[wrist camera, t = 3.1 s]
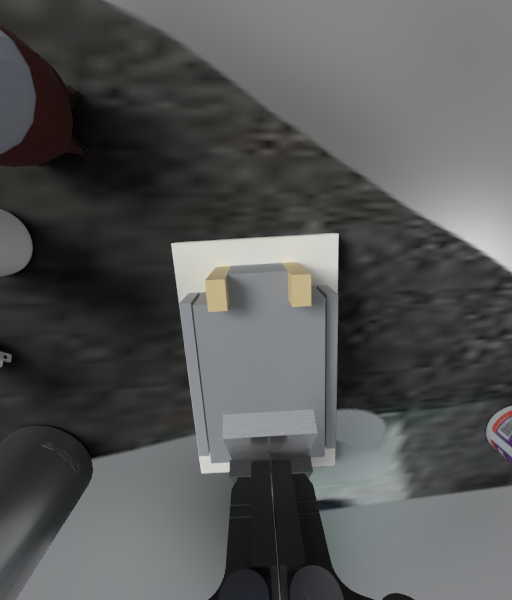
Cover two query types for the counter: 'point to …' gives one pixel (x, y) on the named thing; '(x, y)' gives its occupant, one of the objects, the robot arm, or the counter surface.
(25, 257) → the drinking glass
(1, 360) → the push button
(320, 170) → the counter surface
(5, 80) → the mate gourd
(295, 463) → the latch bar
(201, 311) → the base
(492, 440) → the pill bottle
